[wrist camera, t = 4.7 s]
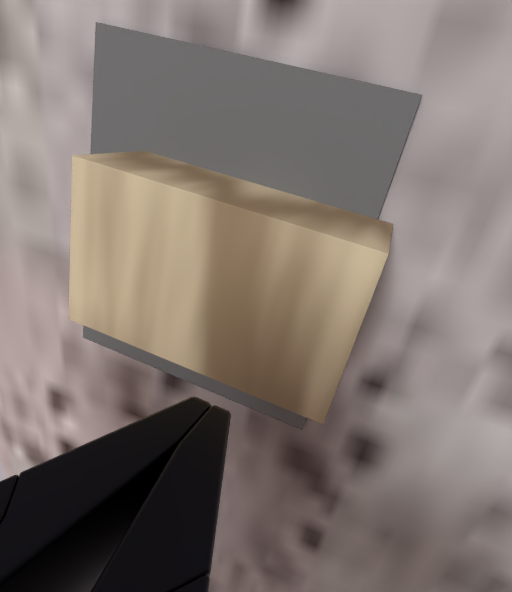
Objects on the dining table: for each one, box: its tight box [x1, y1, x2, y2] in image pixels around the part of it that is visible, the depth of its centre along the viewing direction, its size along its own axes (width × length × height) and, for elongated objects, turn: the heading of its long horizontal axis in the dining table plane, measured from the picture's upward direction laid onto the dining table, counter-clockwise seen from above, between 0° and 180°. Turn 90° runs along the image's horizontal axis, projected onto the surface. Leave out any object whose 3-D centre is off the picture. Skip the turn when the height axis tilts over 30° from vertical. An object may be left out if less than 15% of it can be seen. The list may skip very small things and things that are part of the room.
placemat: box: [83, 22, 422, 430], centre depth 17 cm, size 12×14×1 cm
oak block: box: [69, 151, 393, 424], centre depth 15 cm, size 4×6×10 cm
